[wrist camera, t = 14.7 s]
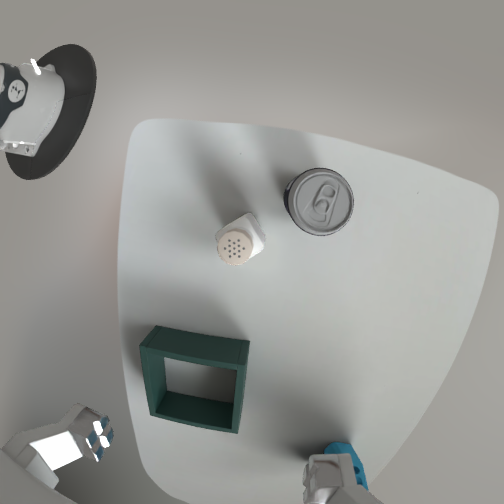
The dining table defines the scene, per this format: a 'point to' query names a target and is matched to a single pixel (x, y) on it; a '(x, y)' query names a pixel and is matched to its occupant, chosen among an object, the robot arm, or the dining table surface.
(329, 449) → the block
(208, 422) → the bin
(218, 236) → the salt shaker
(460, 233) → the dining table surface
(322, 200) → the beverage can
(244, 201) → the dining table surface
